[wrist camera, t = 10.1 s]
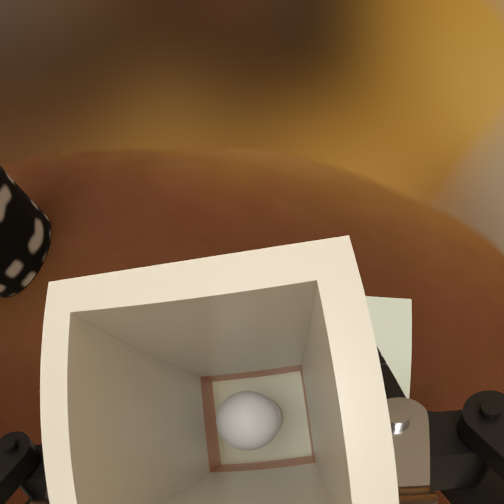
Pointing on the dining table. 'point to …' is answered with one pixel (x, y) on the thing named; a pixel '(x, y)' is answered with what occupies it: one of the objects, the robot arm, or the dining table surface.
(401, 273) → the dining table surface
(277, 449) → the pin board
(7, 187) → the spotted tube
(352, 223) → the dining table surface
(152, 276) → the sleeve
